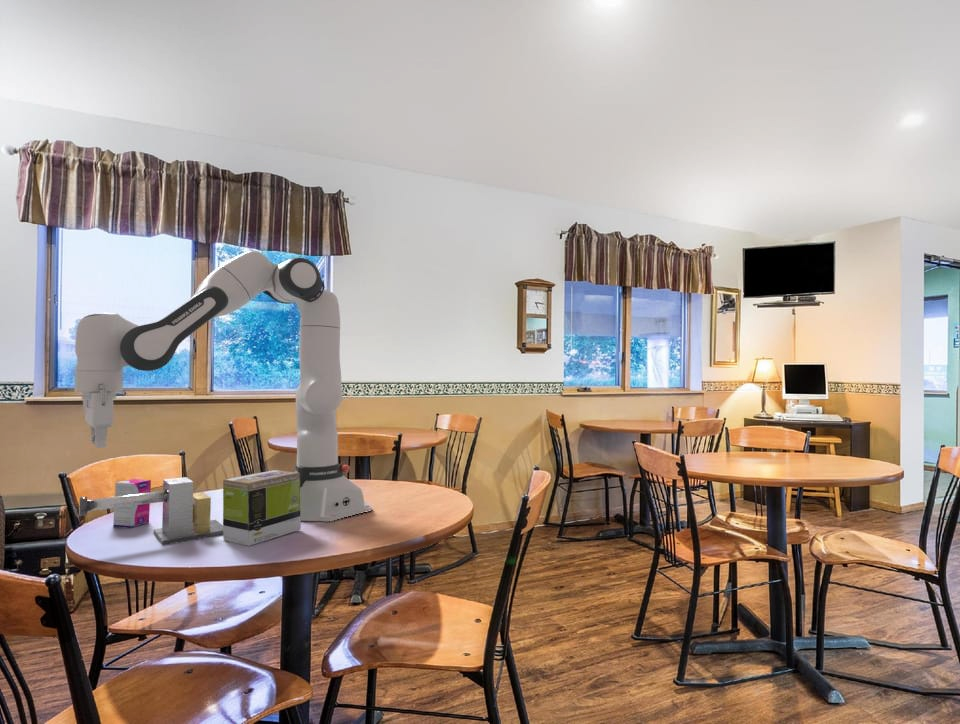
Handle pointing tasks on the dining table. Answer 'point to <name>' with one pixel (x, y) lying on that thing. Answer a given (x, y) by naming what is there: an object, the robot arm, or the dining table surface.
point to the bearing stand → (181, 514)
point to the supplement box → (135, 513)
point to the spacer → (201, 512)
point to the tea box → (261, 506)
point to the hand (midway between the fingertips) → (98, 445)
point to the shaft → (120, 501)
